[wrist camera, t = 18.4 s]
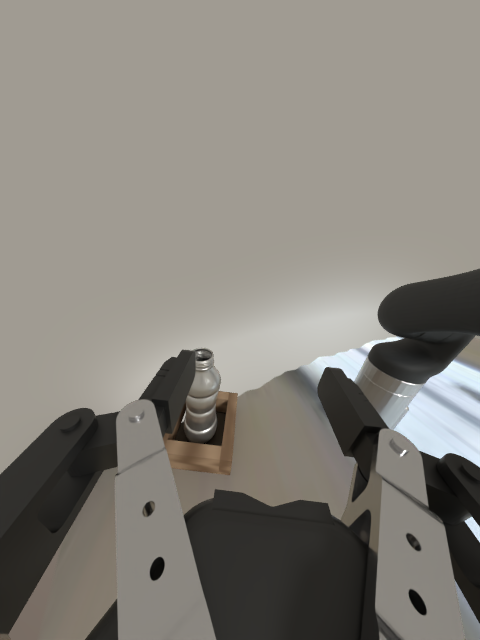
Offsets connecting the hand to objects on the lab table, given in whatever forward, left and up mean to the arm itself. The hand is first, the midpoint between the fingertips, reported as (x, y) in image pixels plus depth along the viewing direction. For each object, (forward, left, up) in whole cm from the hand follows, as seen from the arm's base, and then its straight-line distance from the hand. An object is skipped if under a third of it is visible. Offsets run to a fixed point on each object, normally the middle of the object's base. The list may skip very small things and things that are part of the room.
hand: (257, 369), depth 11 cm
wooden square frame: (+7, -14, -30) cm, 34 cm away
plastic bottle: (+7, -13, -30) cm, 34 cm away
